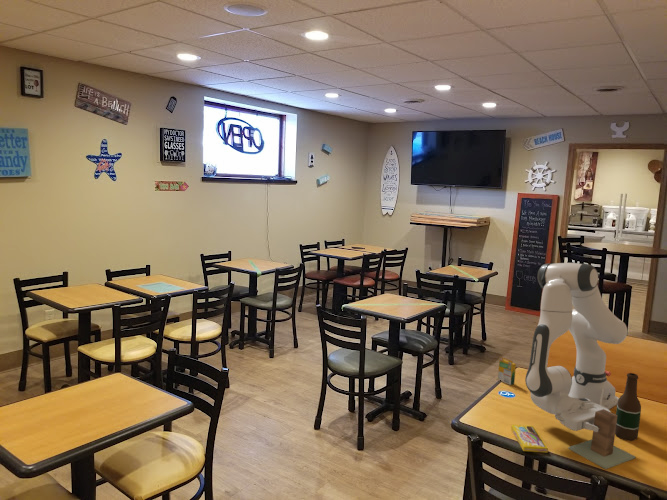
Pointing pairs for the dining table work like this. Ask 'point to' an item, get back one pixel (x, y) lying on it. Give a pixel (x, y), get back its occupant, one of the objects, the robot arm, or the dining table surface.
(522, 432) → the candy box
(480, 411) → the dining table surface
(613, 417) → the walnut block
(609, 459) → the mat
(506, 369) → the crayon box
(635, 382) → the beer bottle
